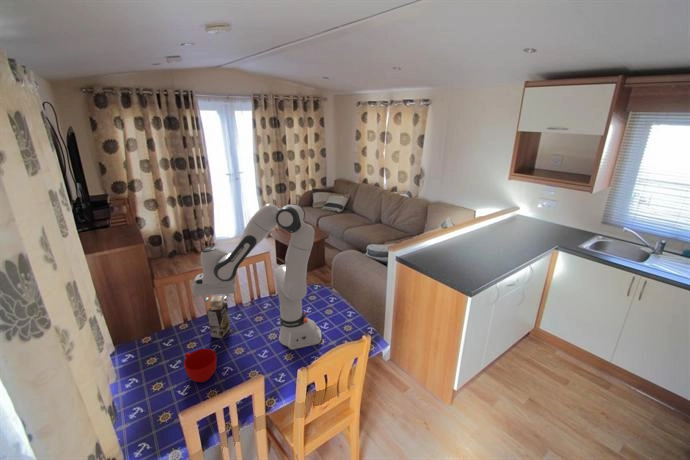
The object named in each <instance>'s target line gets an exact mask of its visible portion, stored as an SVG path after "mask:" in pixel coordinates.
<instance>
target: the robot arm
mask: <svg viewBox="0 0 690 460" xmlns="http://www.w3.org/2000/svg"><path fill="white" fill-rule="evenodd" d="M305 218H306V211H305V209H304V208H303V207H302V206H301V205H300V204H297V203H290V204H286V205H285V206H281V208H279V207H278V206H277V205H275V204H273V203H266V204H264V205H263V206H261V208H259V209H258V210H257V211H256V212H255V213H254V215H253V216H252V217H251V218H250V220H248V222H247V224H246V226H245V228H244V230H243V233H242V235H241V238H240V240H239V242H238V244H237V246H236V247H235V248H234V250H224V249H222V248H219V246H216V245H210V246H207V247H205V248H204V249H203V250H202V251H201V252H200V263H201V267H202V273H199V274H197V275H196V276H195V278H194V280H193V286H192V291H193V293H192V294H193V295H194V296H196V297H197V296H201V297H202V299H203V300H204V302H205V303H210V299H209V297H207V296H217V295H226V296H224V297H223V302H224V301H225V302H227V301H228V300H229V295H230V294H235V293H236V292H237V285H236V275H237V273H238V269H239V267H240V266H241V264H242V262H244V261H245V259H246V258H247V256H249V254H250V253H251V252H252V251H253V249H255V248H256V246H258V245H259V244H260V243H261V242H262V241H263V240H264V239H265V238H267V236H268V235H269V234H271V232H272V231H273V229H274V228H275V227H276V226H277V225H278V226H279V228H281V229H283V230H284V231H286V232H287V233H289V234H291V236H290V240H289V243H288V247H287V249H286V254H285V258H284V260H285V264H280V265H278V266H277V267H276V268H275V270H274V272H273V273H274V274H273V276H274V279H275V285H276V292H277V297H278V301H279V312H280V315H279V325H280V330H279V337H278V341H279V343H280V344H281V345H283V346H286V347H288V348H289V350H297V349H302V348H306V347H310V346H311V347H312V346H314V345H315V346H316V345H318V344H320V343H321V341H322V337H323V335H322V331H321V328H320V327H319V326H318V325H317V324H316V322H315V321H314V320H313V319H310V318H308V317H307V314H306V311H304V312H303V299H304V298H305V297H306V295H307V292H308V286H307V272H308V264H309V263H308V262H309V259H310V256H311V252H312V248H313V246H314V240H315V233H316V231H315V228H314V227H313V226H312V225H311V224H310V223H306V221H304V220H305Z"/></svg>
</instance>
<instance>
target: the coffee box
mask: <svg viewBox="0 0 690 460" xmlns="http://www.w3.org/2000/svg"><path fill="white" fill-rule="evenodd" d="M223 303H224V304H223V307H222V309H219V310H211V307H210V308H209V309H208V310H207V316H208V317H207V318H208V323H209V324H208V325H209V329H210V330H209V331H210V336H211V337H212V338H216V339H217V338H218V339H222V338H223V337H224V336H225V335H226V333H228V331H229V330H230V329H231V323H230V313H229V306H228V302H223Z"/></svg>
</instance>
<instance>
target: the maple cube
mask: <svg viewBox="0 0 690 460" xmlns="http://www.w3.org/2000/svg"><path fill="white" fill-rule="evenodd" d="M211 296H212V297H211V299H210V300H209V303H210V308H211V310H219V309H222V307H223V304H224V303H225V302H224V296H223V295H211Z"/></svg>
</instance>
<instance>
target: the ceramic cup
mask: <svg viewBox="0 0 690 460" xmlns="http://www.w3.org/2000/svg"><path fill="white" fill-rule="evenodd" d="M184 357H185V359H184V362H183V365H184V366H183V367H184V370H185V373H186V375H187V376H188V377H189V379H191V381H194V382H196V383H206V382H207V381H208V380H209V379H210V378H211V377H212V376H213V375H214V373H215V372H216V370H217V363H218V361H217V354H216V352H215V350H213V349H209V348H202V349H198V350H195V351H193V352H191V353H190V352H187V353H185V355H184Z"/></svg>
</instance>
